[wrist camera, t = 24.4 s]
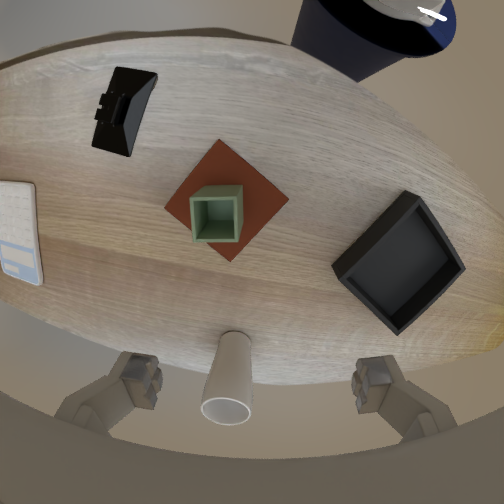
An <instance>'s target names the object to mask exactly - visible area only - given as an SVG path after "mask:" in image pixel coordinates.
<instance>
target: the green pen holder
mask: <svg viewBox="0 0 504 504" xmlns="http://www.w3.org/2000/svg"><path fill="white" fill-rule="evenodd" d="M190 212H191V225H192V237H193V242H238V241H239V237H240V233H241V229H242V225H243V185H210V186H204V187H202V188H201V189H200V190H199V191H197V192H196V193H195V194H193V195H192V196H191V197H190Z"/></svg>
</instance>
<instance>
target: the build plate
mask: <svg viewBox="0 0 504 504" xmlns="http://www.w3.org/2000/svg"><path fill="white" fill-rule="evenodd" d="M157 75H158V74H157V73H154V72H149V71H143V70H137V69H131V68H124V67H116V68H115V70H114V73H113V76H112V78H111V81H110V84H109V87H108V90H107V92H106V94H104V93H102V95H101V98H100V102H99V105H102V108H101V109H99V108H97V111H96V115H95V118H94V120H98V121H97V125H96V129H95V133H94V137H93V141H92V147H95V148H99V149H102V150H106V151H109V152H113V153H116V154H120V155H123V156H126V157H130V156H131V153H132V150H133V146H134V142H135V139H136V136H137V132H138V129H139V126H140V123H141V120H142V117H143V114H144V111H145V108H146V105H147V102H148V99H149V96H150V93H151V91H152V90H153V89H154V88H155V85H156V82H157V80H158V76H157Z"/></svg>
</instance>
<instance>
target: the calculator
mask: <svg viewBox="0 0 504 504" xmlns="http://www.w3.org/2000/svg"><path fill="white" fill-rule="evenodd" d="M0 260H1V265H2V269H3V271H4V273H6V274H7V275H10V276H12V277H15V278H17V279H20V280H23V281H25V282H28V283H31V284H33V285H37V286H39V285H41V284H42V283H43V272H42V265H41V258H40V251H39V242H38V232H37V220H36V201H35V187H34V185H33V184H31V183H26V182H14V181H1V180H0Z"/></svg>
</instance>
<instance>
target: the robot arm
mask: <svg viewBox="0 0 504 504" xmlns="http://www.w3.org/2000/svg"><path fill="white" fill-rule="evenodd" d="M363 1H364V2H365V3H366V4H368V5H369V6H370V7H372V8H373V9H375V10H377V11H379V12H380V13H382V14H384V15H387V16H389V17H392V18H395V19H400V20H409V21H415V22H417V23H419V24H421V25H423V26H426V27H430V26H432V25H433V23H434V22H435V20H436V18H438V19H440V20H442V21H445V20H447V18H445V17H443V16H441V15H439V12H440V10H441V8H442V6H443V4H444V3H445V0H363ZM427 15H428V16H429V17H428V16H427ZM158 364H159V361H158V358H157V357H156V356H153V355H147V354H140V353H132V352H127V351H123V352H122V353H121V354H120V356H119V358H118V359H117V361H116V363H115V364H114V366H113V368H112V370H111V371H110V373H109V375H108V376H103V377H101V378H100V379H98V380H96V381H94V382H93V383H91V384H89V385H87V386H86V387H84V388H82V389H80V390H78V391H77V392H75V393H73V394H71V395H69V396H68V397H66V398H65V399H64V401H63V402H62V404H61V406H60V407H59V409H58V411H57V412H56V414H55V416H54V417H52V416H50V415H48V414H45V413H43V412H41V411H39V410H37V409H34V408H32V407H30V406H28V405H26V404H24V403H22V402H20V401H18V400H16V399H14V398H12V397H10V396H9V395H7V394H5V393H3V392H1V391H0V504H504V407H501V408H499V409H497V410H495V411H493V412H491V413H488V414H486V415H484V416H482V417H479V418H477V419H475V420H472V421H470V422H467V423H465V424H462V425H459V426H458V425H457V423H456V421H455V419H454V417H453V415H452V413H451V411H450V409H449V407H448V405H446V404H444V403H443V402H441V401H440V400H438V399H437V398H435V397H433V396H432V395H430V394H429V393H427V392H426V391H424V390H422V389H421V388H419V387H418V386H416V385H415V384H413V383H412V382H410V381H405V379H404V376H403V374H402V372H401V370H400V368H399V366H398V364H397V362H396V360H395V358H394V356H393V355H386V356H381V357H380V356H378V357H370V358H360V359H358V360H357V363H356V368H357V370H356V371H355V372H354V373H353V376H352V391H353V394H354V395H355V396H356V397H357V399H356V406H357V409H358V413H359V414H364V413H372V412H378V414H379V415H380V416H381V417H383V418H384V419H385V420H386V421H387V422H388V423H389V424H390V425H391V426H392V427H393V428H394V429H395V430H396V431H397V432H398V433H400V435H401V436H403V438H402V440H401V441H400V442H399V444H396V445H391V446H387V447H382V448H377V449H372V450H366V451H360V452H354V453H348V454H339V455H331V456H321V457H308V458H290V459H289V458H288V459H248V458H247V459H246V458H229V457H216V456H206V455H197V454H189V453H183V452H176V451H170V450H165V449H159V448H154V447H149V446H145V445H140V444H136V443H132V442H128V441H124V440H120V439H116V438H113V437H112V436H111V435H110V434H109V432H108V430H109V429H111V428H112V427H113V426H114V425H116V424H117V423H118V422H119V421H120V420H122V419H123V418H124V417H125V416H126V415H128V414H129V413H130V412H131V411H132V410H133V409H134V408H135V407H138V408H143V409H150V410H154V407H155V404H156V401H157V396H156V393H158V392H159V391H160V390H161V387H162V383H163V377H162V371H161V369H159V368H158V367H157V366H158Z"/></svg>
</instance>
